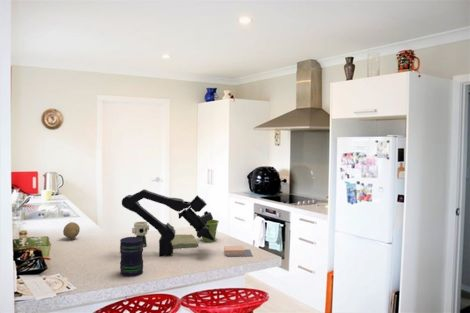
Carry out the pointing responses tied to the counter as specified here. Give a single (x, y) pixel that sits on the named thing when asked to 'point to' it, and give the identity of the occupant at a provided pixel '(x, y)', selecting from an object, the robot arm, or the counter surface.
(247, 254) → the mat
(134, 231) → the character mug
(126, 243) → the storage jar
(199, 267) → the counter surface
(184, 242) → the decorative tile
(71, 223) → the natural sponge
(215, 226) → the plant pot
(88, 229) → the counter surface
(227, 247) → the tile
